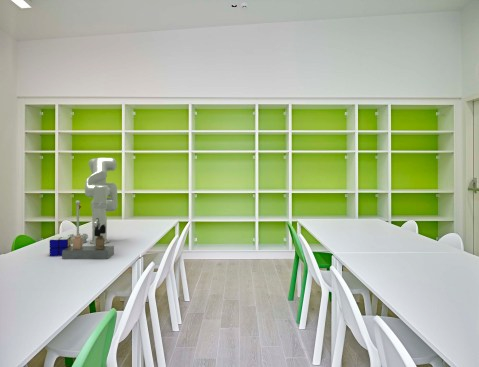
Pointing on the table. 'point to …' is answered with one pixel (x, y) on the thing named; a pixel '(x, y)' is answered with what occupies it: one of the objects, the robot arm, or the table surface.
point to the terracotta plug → (77, 242)
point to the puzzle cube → (59, 245)
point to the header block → (88, 252)
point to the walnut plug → (100, 242)
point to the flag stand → (78, 227)
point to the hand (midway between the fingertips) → (100, 234)
